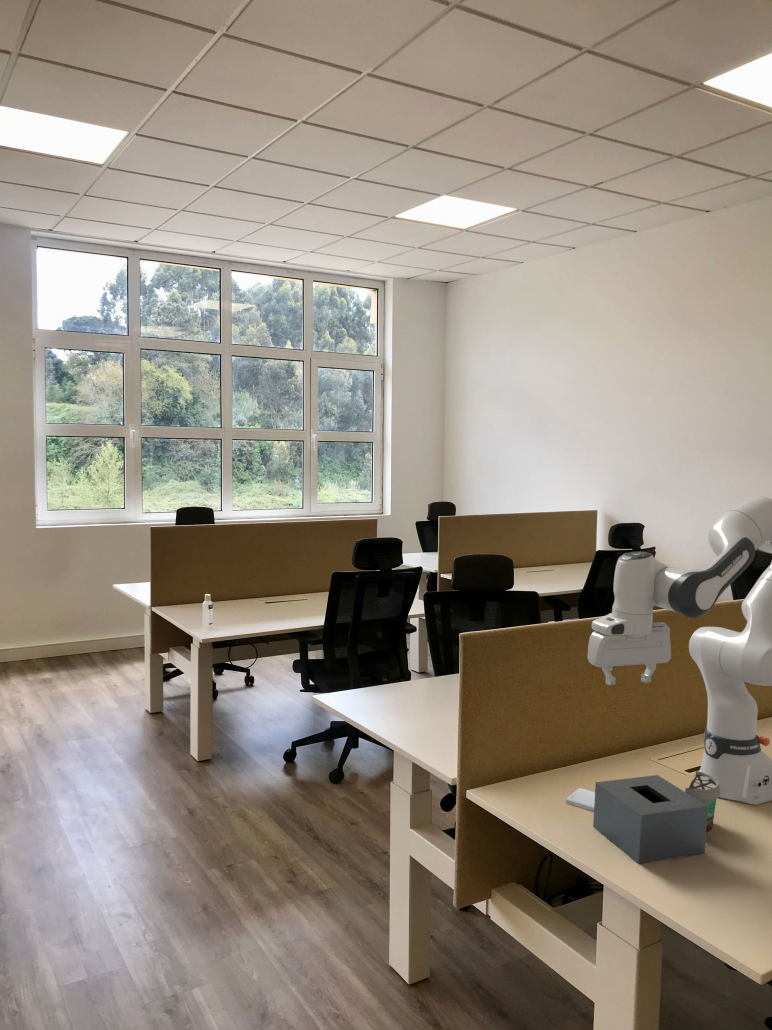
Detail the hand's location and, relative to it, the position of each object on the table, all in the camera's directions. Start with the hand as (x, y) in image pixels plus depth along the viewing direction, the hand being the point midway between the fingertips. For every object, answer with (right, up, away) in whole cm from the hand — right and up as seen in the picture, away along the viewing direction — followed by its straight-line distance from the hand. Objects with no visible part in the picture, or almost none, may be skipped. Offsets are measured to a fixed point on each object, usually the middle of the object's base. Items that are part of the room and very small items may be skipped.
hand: (628, 683), depth 180 cm
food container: (+15, -30, -6) cm, 34 cm away
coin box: (0, -30, -13) cm, 33 cm away
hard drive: (-6, -30, +3) cm, 30 cm away
